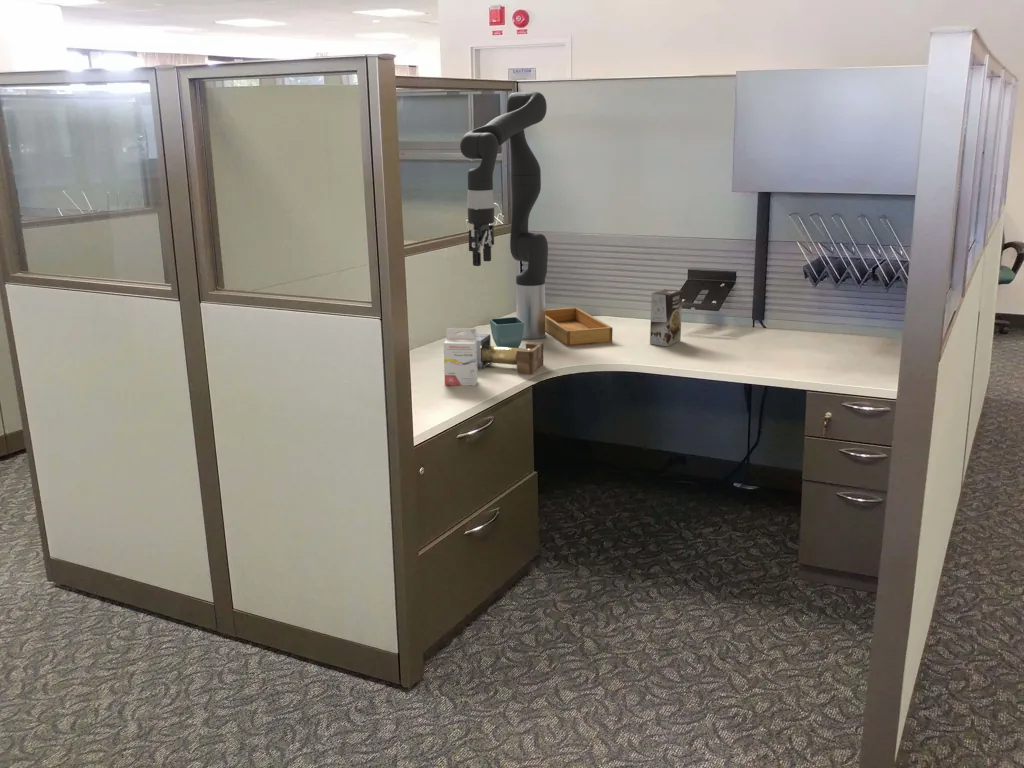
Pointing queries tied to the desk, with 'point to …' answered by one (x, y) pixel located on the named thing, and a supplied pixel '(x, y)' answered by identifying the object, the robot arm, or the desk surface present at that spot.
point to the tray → (576, 327)
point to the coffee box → (666, 317)
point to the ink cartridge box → (460, 357)
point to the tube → (500, 354)
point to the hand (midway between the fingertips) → (482, 263)
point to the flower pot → (507, 331)
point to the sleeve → (481, 340)
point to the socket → (530, 358)
